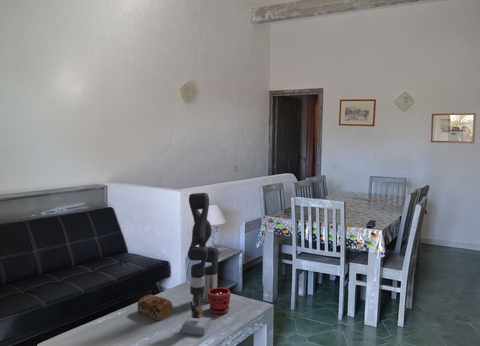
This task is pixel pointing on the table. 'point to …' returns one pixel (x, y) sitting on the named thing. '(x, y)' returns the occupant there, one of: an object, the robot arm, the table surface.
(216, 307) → the plant pot
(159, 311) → the bread
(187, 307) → the table surface
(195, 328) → the pedestal
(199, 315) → the walnut cube
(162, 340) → the table surface
